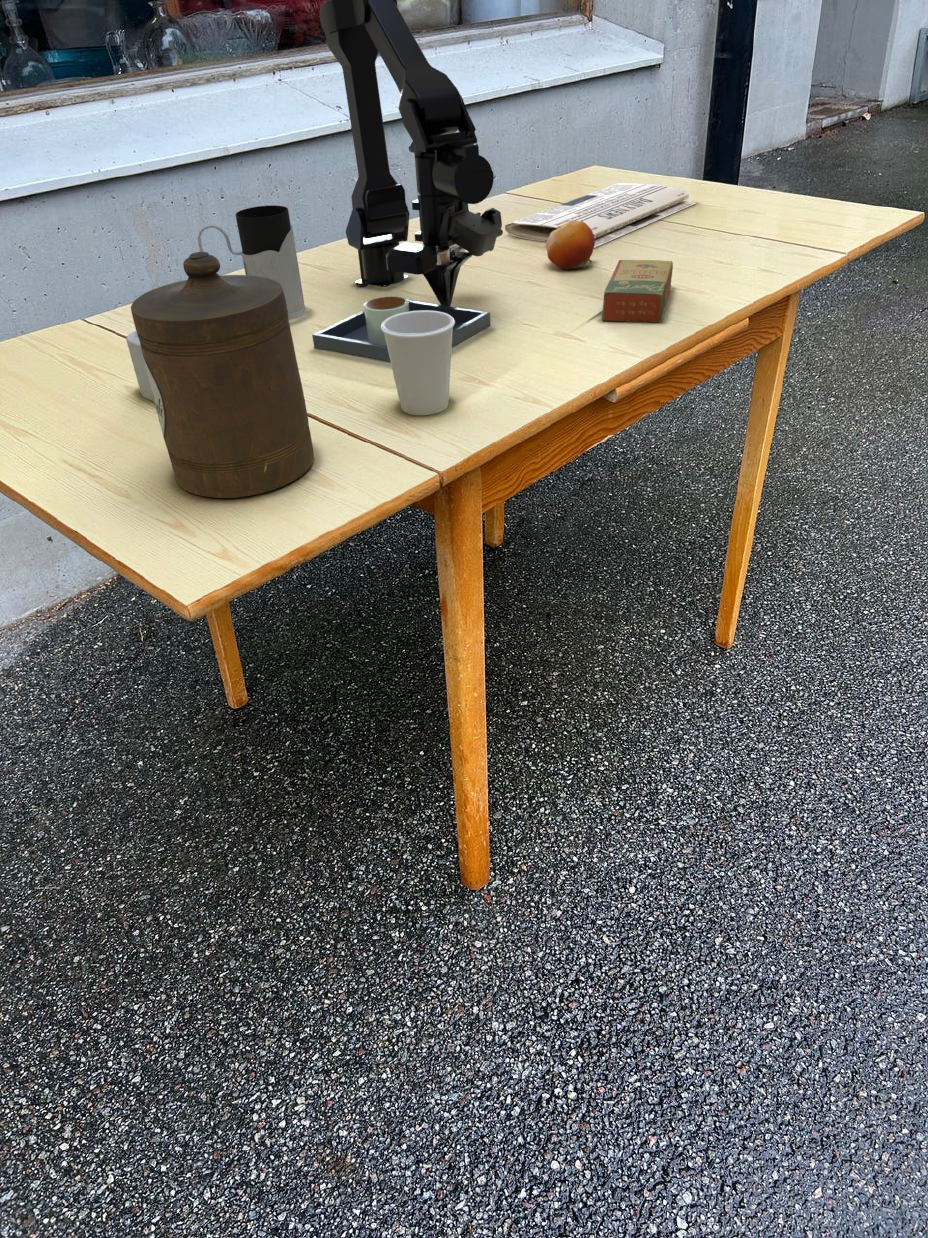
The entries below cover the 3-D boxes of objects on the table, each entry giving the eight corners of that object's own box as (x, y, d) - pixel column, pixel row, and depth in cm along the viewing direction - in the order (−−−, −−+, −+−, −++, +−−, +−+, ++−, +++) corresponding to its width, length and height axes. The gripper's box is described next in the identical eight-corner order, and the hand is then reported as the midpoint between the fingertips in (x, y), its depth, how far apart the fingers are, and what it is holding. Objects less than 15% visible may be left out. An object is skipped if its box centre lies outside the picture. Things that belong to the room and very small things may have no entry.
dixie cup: (404, 425, 106) (395, 339, 100) (380, 400, 112) (370, 318, 106) (471, 410, 108) (466, 325, 102) (443, 386, 115) (437, 305, 109)
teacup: (359, 347, 126) (354, 306, 123) (386, 333, 130) (381, 293, 127) (400, 354, 123) (395, 312, 120) (425, 339, 127) (422, 299, 124)
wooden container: (218, 432, 107) (171, 232, 94) (335, 441, 103) (304, 234, 90) (147, 493, 96) (84, 275, 83) (277, 506, 92) (231, 279, 79)
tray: (314, 351, 127) (311, 334, 126) (391, 313, 139) (389, 297, 138) (418, 371, 119) (416, 353, 118) (491, 329, 131) (490, 312, 129)
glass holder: (307, 323, 137) (289, 215, 129) (211, 331, 137) (187, 224, 128) (310, 305, 144) (294, 202, 136) (219, 312, 144) (197, 209, 135)
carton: (672, 288, 141) (674, 259, 138) (661, 323, 129) (663, 292, 126) (617, 286, 143) (618, 257, 140) (601, 321, 131) (602, 290, 128)
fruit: (603, 263, 149) (578, 218, 146) (561, 288, 152) (536, 245, 149) (607, 249, 155) (583, 205, 152) (567, 274, 159) (542, 232, 156)
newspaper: (612, 194, 194) (612, 180, 193) (696, 203, 184) (697, 188, 182) (505, 235, 172) (504, 219, 170) (593, 248, 162) (593, 231, 160)
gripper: (447, 212, 116) (455, 335, 125) (524, 181, 128) (526, 295, 137) (378, 205, 122) (390, 323, 131) (458, 176, 134) (464, 286, 143)
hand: (446, 306), depth 135 cm, fingers closed
